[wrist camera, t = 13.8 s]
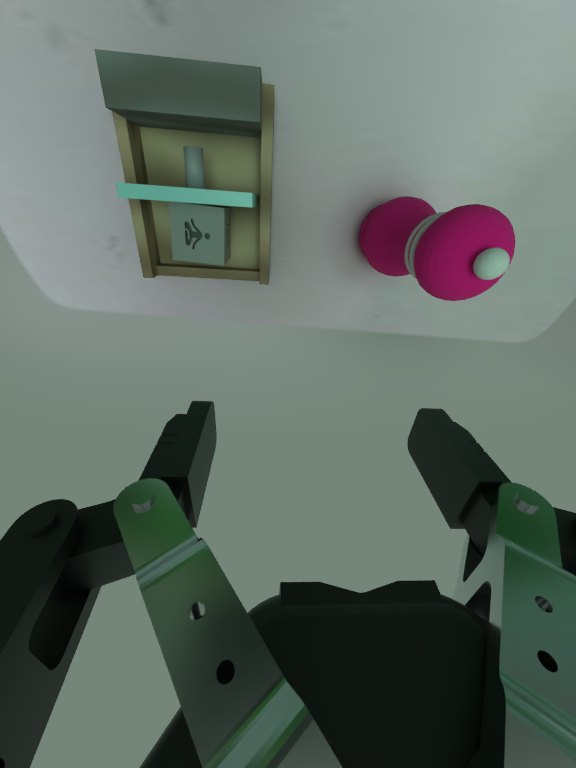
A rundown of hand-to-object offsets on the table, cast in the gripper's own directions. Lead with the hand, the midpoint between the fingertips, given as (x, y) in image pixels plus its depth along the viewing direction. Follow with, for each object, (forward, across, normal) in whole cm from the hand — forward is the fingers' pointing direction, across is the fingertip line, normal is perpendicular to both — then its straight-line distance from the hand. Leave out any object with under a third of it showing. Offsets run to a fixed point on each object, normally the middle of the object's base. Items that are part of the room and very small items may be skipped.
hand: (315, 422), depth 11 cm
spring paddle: (+27, +9, -9) cm, 30 cm away
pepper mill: (+28, -11, -5) cm, 31 cm away
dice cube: (+28, +9, -4) cm, 29 cm away
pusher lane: (+28, +9, -8) cm, 30 cm away
